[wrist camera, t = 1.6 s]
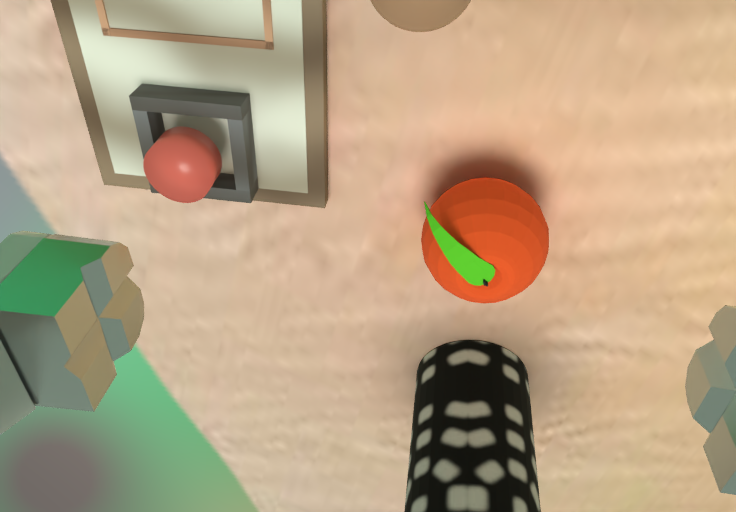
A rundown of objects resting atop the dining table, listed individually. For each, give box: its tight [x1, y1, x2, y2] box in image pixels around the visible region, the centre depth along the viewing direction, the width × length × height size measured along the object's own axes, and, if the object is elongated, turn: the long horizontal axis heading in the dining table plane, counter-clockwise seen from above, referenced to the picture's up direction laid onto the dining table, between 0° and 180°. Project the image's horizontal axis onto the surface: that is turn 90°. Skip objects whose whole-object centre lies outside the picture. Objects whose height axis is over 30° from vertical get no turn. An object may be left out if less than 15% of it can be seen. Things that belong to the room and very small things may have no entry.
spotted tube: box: [405, 340, 541, 512], centre depth 38 cm, size 8×8×20 cm
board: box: [51, 0, 328, 208], centre depth 30 cm, size 20×14×3 cm
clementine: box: [421, 177, 549, 303], centre depth 33 cm, size 8×7×7 cm
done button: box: [143, 126, 222, 203], centre depth 32 cm, size 4×4×2 cm
